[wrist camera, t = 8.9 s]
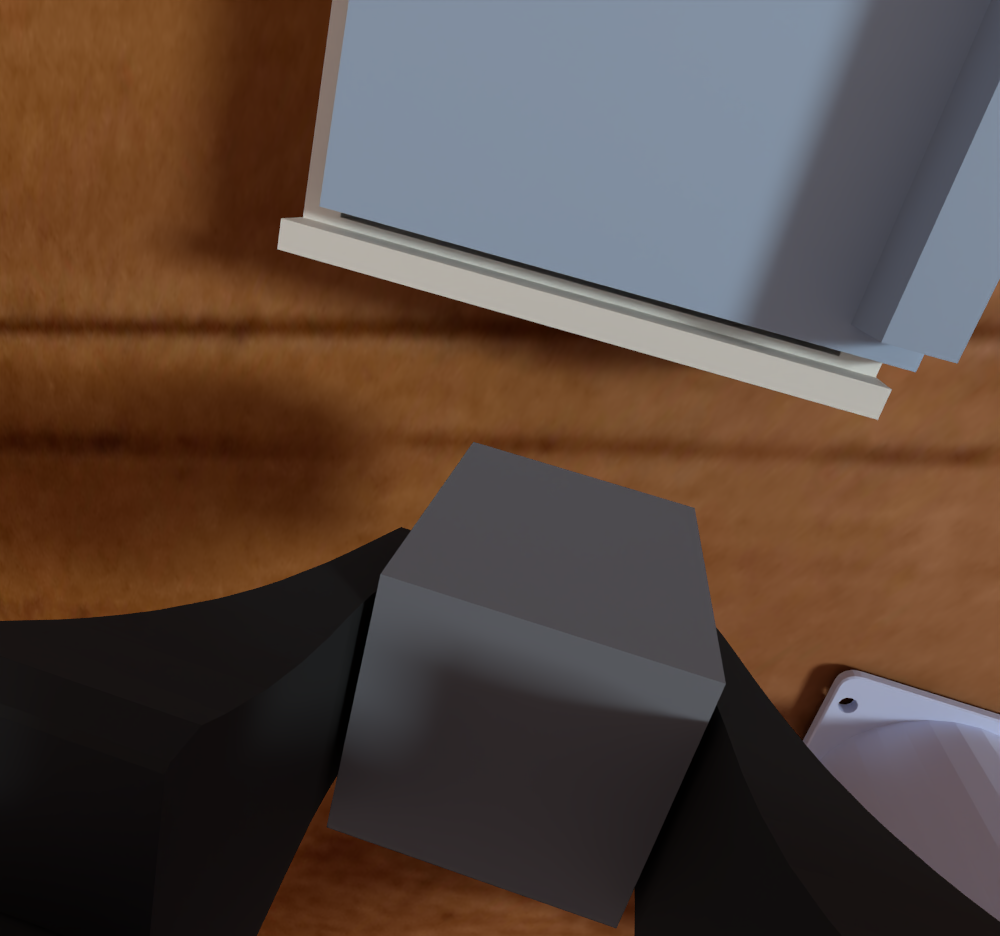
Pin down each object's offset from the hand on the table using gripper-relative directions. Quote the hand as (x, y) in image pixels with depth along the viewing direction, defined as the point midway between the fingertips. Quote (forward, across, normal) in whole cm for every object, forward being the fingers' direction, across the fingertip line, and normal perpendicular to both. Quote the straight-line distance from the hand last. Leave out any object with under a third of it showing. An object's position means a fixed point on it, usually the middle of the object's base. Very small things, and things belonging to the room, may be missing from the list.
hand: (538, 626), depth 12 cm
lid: (+5, +1, -9) cm, 10 cm away
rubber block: (+2, 0, 0) cm, 2 cm away
